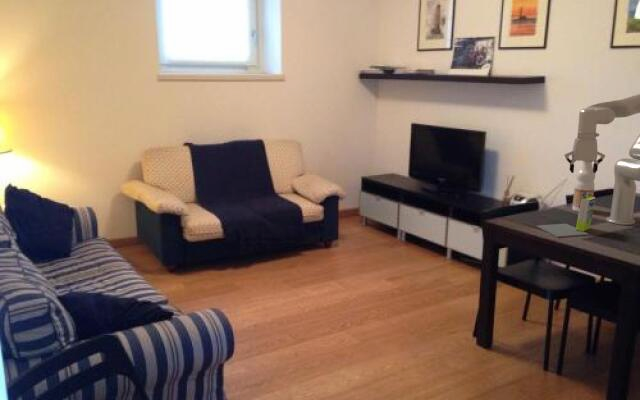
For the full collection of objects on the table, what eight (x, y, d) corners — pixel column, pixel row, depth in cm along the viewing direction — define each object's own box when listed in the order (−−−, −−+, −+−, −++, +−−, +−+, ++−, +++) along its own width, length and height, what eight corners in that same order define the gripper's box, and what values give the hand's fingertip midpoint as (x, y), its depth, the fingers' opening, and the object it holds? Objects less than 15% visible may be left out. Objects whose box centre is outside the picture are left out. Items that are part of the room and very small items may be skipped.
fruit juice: (569, 210, 294) (574, 158, 287) (576, 207, 300) (582, 156, 293) (587, 213, 287) (593, 161, 280) (594, 210, 293) (600, 158, 287)
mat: (566, 224, 268) (566, 223, 268) (588, 235, 252) (588, 234, 252) (536, 226, 265) (536, 225, 265) (557, 237, 249) (557, 236, 249)
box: (583, 231, 255) (590, 195, 251) (574, 229, 257) (581, 194, 253) (590, 228, 263) (597, 193, 259) (581, 226, 265) (588, 191, 261)
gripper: (604, 134, 253) (601, 171, 257) (564, 134, 257) (561, 170, 261) (609, 137, 246) (605, 174, 250) (567, 137, 250) (564, 173, 254)
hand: (583, 172), depth 256 cm, fingers open, 9 cm apart
